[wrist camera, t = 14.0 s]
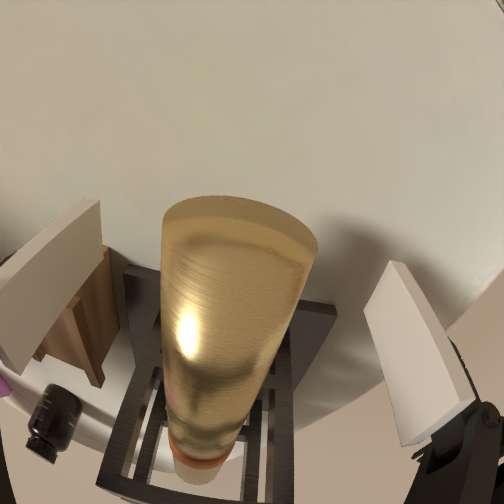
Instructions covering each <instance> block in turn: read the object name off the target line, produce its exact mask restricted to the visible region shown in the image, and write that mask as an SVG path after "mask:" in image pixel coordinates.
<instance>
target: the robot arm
mask: <svg viewBox="0 0 504 504" xmlns="http://www.w3.org/2000/svg"><path fill="white" fill-rule="evenodd" d="M103 259H104V256H103V245H102V233H101V217H100V200H96V199H90V198H84V199H82V200H81V201H79V202H78V203H77V204H75V205H74V206H72V207H71V208H70V209H68V210H67V211H66V212H64V213H63V214H62V215H60V216H59V217H58V218H57V219H55V220H54V221H53V222H51V223H50V224H49V225H48V226H46V227H45V228H44V229H43V230H42V231H40V232H39V233H38V234H37V235H35V236H34V237H33V238H32V239H31V240H30V241H28V242H27V243H26V244H25V245H24V246H23V247H22V248H20V249H19V250H18V251H17V252H15V253H13V254H11V255H10V256H8V257H6V258H5V259H4V260H3V261H2V262H1V263H0V359H1V361H2V362H3V364H4V365H5V367H7V368H9V369H10V370H12V371H13V372H15V373H17V374H18V375H20V376H21V374H22V372H23V371H24V369H25V367H26V366H27V364H28V362H29V361H30V359H31V358H32V356H33V354H34V353H35V351H36V350H37V348H38V346H39V345H40V343H41V342H42V340H43V339H44V337H45V336H46V334H47V333H48V331H49V330H50V328H51V327H52V325H53V324H54V323H55V321H56V320H57V318H58V317H59V315H60V314H61V313H62V311H63V310H64V309H65V307H66V306H67V304H68V303H69V302H70V300H71V299H72V298H73V296H74V295H75V294H76V292H77V291H78V290H79V288H80V287H81V286H82V285H83V283H84V282H85V281H86V280H87V278H88V277H89V276H90V274H91V273H92V272H93V271H94V270H95V268H96V267H97V266H98V265H99V263H100V262H101V261H102V260H103ZM363 311H364V314H365V317H366V320H367V323H368V326H369V329H370V332H371V335H372V338H373V341H374V344H375V348H376V351H377V354H378V357H379V361H380V364H381V367H382V371H383V374H384V378H385V382H386V385H387V388H388V393H389V396H390V400H391V404H392V408H393V412H394V416H395V420H396V425H397V429H398V433H399V438H400V442H401V447H404V446H410V445H415V444H419V443H421V442H422V441H424V440H425V439H426V438H428V437H429V436H431V438H432V442H431V443H429V444H428V445H426V446H425V447H423V448H422V449H420V450H419V451H417V452H416V453H414V454H413V456H412V458H411V459H415V458H417V457H418V456H420V455H422V454H423V453H424V454H423V456H422V457H420V458H419V459H418V460H417V462H419V463H420V466H419V468H418V471H417V474H416V476H415V479H414V481H413V484H412V486H411V488H410V491H409V493H408V495H407V498H406V500H405V502H404V504H504V463H503V464H501V465H499V466H498V461H499V459H500V458H501V457H503V456H504V417H503V416H500V413H499V411H498V409H497V408H496V407H495V406H494V405H493V404H492V403H490V402H487V401H485V402H481V400H480V398H479V396H478V393H477V391H476V389H475V386H474V384H473V381H472V379H471V377H470V375H469V372H468V370H467V369H466V368H465V364H464V362H463V360H462V359H461V356H460V354H459V352H458V350H457V348H456V346H455V344H454V343H453V342H452V341H451V340H450V339H449V337H448V336H447V335H446V333H445V331H444V329H443V327H442V325H441V323H440V322H439V320H438V318H437V316H436V314H435V313H434V311H433V309H432V307H431V306H430V304H429V302H428V300H427V299H426V297H425V295H424V294H423V292H422V290H421V289H420V287H419V286H418V284H417V282H416V281H415V279H414V277H413V276H412V274H411V273H410V271H409V270H408V268H407V267H406V265H405V264H404V263H401V262H397V261H393V260H389V263H388V265H387V267H386V269H385V271H384V273H383V275H382V277H381V278H380V280H379V282H378V284H377V286H376V288H375V290H374V292H373V294H372V295H371V297H370V299H369V301H368V303H367V305H366V306H365V308H364V310H363ZM0 504H16V501H15V497H14V494H13V491H12V487H11V483H10V479H9V475H8V471H7V466H6V462H5V456H4V451H3V445H2V438H1V431H0Z"/></svg>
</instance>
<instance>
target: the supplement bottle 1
mask: <svg viewBox="0 0 504 504" xmlns="http://www.w3.org/2000/svg"><path fill="white" fill-rule="evenodd" d="M82 411H83V405H82V403H81V402H80V401H79V400H78V399H77V398H76V397H75V396H74V395H73V394H71V393H70V392H68V391H67V390H65V389H64V388H62V387H60V386H58V385H55V384H49V385H48V386H47V387H46V389H45V391H44V392H43V394H42V396H41V398H40V400H39V402H38V404H37V406H36V408H35V410H34V412H33V414H32V416H31V418H30V420H29V423H28V429H29V432H30V433H31V438H28V441H27V444H26V447H27V449H29V450H30V451H31V452H33V453H34V454H36V455H37V456H39V457H41V458H42V459H44V460H45V461H47V462H49V463H51V464H54V463H55V460H56V458H57V456H58V455H57V452H63V451H65V450H66V449H67V448H68V446H69V443H70V441H71V438H72V436H73V433H74V431H75V428H76V426H77V423H78V421H79V418H80V416H81V414H82Z"/></svg>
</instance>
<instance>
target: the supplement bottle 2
mask: <svg viewBox="0 0 504 504" xmlns="http://www.w3.org/2000/svg"><path fill="white" fill-rule="evenodd" d="M497 2H498V4H499V5H500V7H501V8H502V9H503V11H504V0H497Z"/></svg>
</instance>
